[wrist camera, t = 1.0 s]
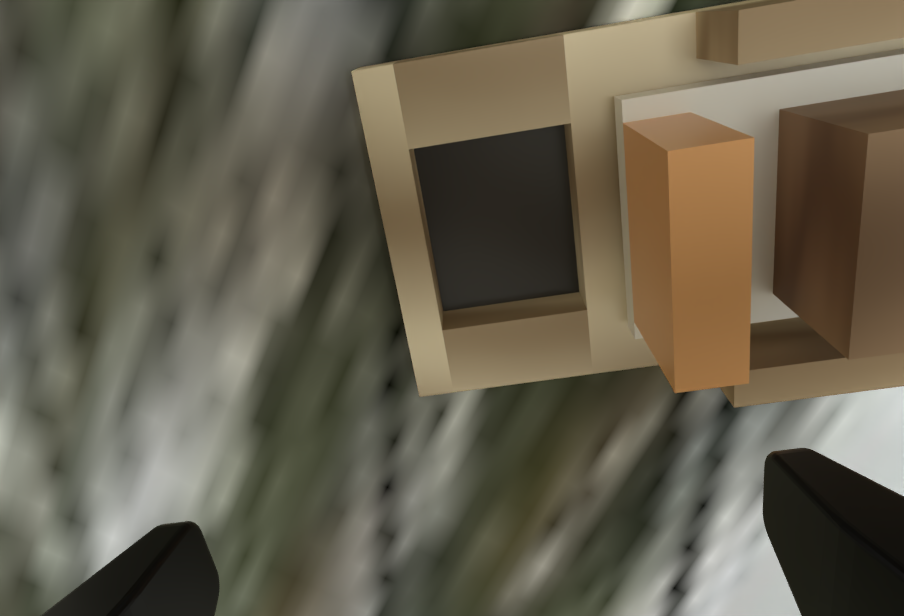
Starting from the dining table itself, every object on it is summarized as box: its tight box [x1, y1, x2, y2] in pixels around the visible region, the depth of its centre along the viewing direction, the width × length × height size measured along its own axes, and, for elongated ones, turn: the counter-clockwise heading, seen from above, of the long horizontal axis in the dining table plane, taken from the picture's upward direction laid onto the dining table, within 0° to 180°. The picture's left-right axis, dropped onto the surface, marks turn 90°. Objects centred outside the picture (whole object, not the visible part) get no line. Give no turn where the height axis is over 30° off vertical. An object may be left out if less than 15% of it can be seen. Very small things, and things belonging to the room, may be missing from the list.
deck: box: [351, 0, 904, 408], centre depth 16 cm, size 9×24×4 cm, turn 99°
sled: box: [614, 49, 904, 393], centre depth 14 cm, size 6×9×4 cm, turn 99°
